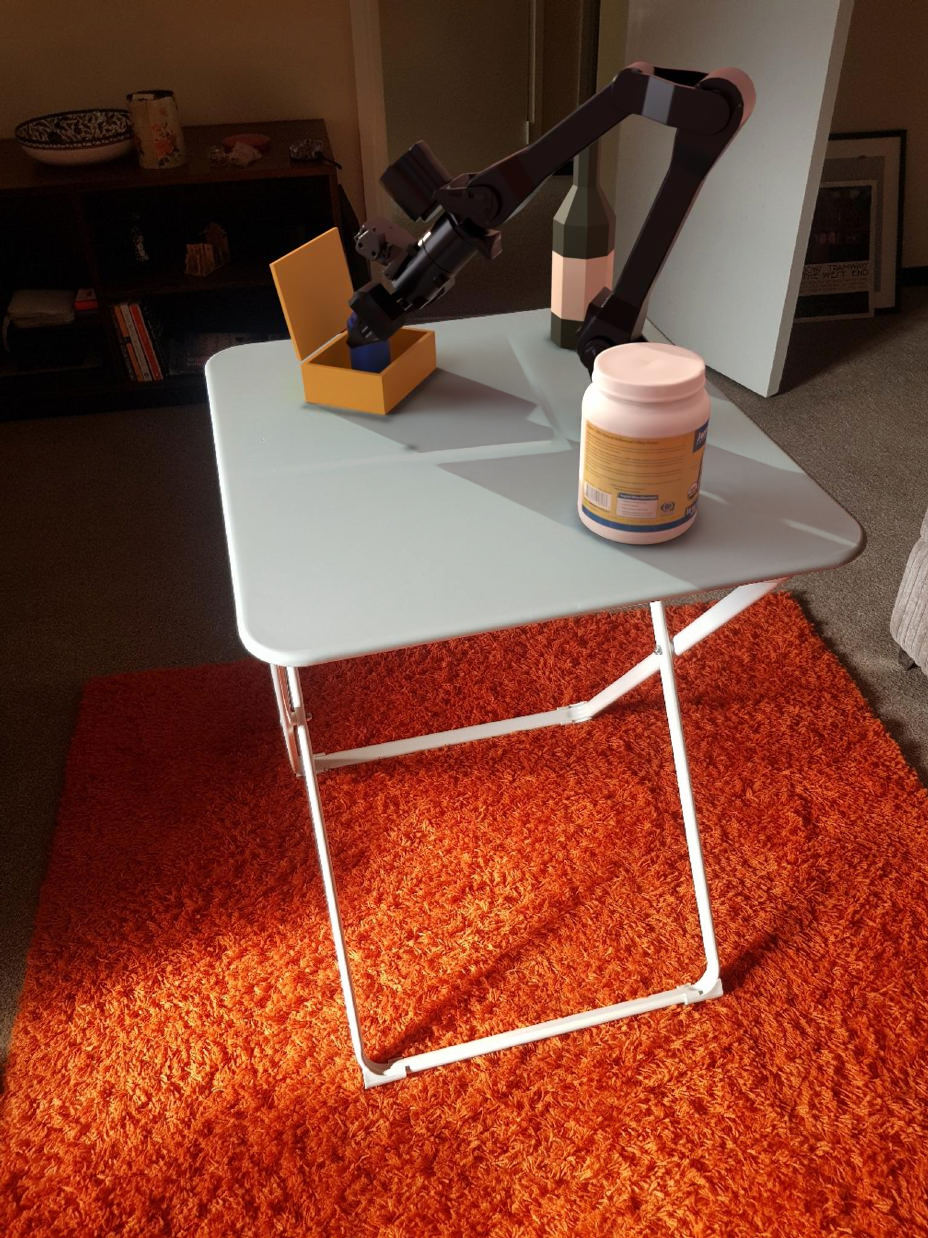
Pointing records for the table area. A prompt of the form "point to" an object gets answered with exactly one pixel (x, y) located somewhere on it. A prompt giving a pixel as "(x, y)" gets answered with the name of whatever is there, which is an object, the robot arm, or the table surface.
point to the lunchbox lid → (314, 292)
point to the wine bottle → (581, 248)
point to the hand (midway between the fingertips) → (366, 332)
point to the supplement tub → (643, 442)
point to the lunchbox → (367, 391)
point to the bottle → (369, 353)
